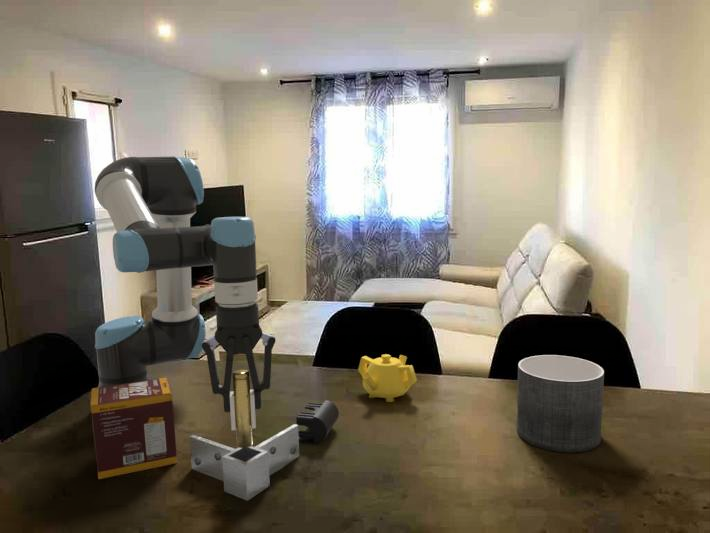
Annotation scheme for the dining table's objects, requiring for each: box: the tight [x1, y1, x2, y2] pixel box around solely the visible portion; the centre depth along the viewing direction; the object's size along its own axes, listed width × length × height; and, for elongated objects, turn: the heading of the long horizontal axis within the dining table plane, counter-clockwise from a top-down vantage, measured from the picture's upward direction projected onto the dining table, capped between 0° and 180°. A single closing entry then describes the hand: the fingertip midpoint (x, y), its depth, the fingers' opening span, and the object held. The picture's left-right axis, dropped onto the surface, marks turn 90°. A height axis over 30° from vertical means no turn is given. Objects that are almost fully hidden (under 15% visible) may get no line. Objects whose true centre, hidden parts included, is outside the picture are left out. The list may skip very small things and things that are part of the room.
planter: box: [516, 354, 605, 454], centre depth 125 cm, size 18×18×16 cm
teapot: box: [357, 353, 418, 403], centre depth 151 cm, size 20×18×11 cm
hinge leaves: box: [189, 423, 300, 501], centre depth 114 cm, size 18×18×7 cm
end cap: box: [295, 399, 340, 446], centre depth 128 cm, size 10×7×7 cm
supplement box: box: [89, 377, 178, 480], centre depth 118 cm, size 10×15×16 cm
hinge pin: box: [232, 369, 254, 448], centre depth 104 cm, size 3×3×14 cm
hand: (243, 426), depth 105 cm, fingers closed on hinge pin, 3 cm apart
